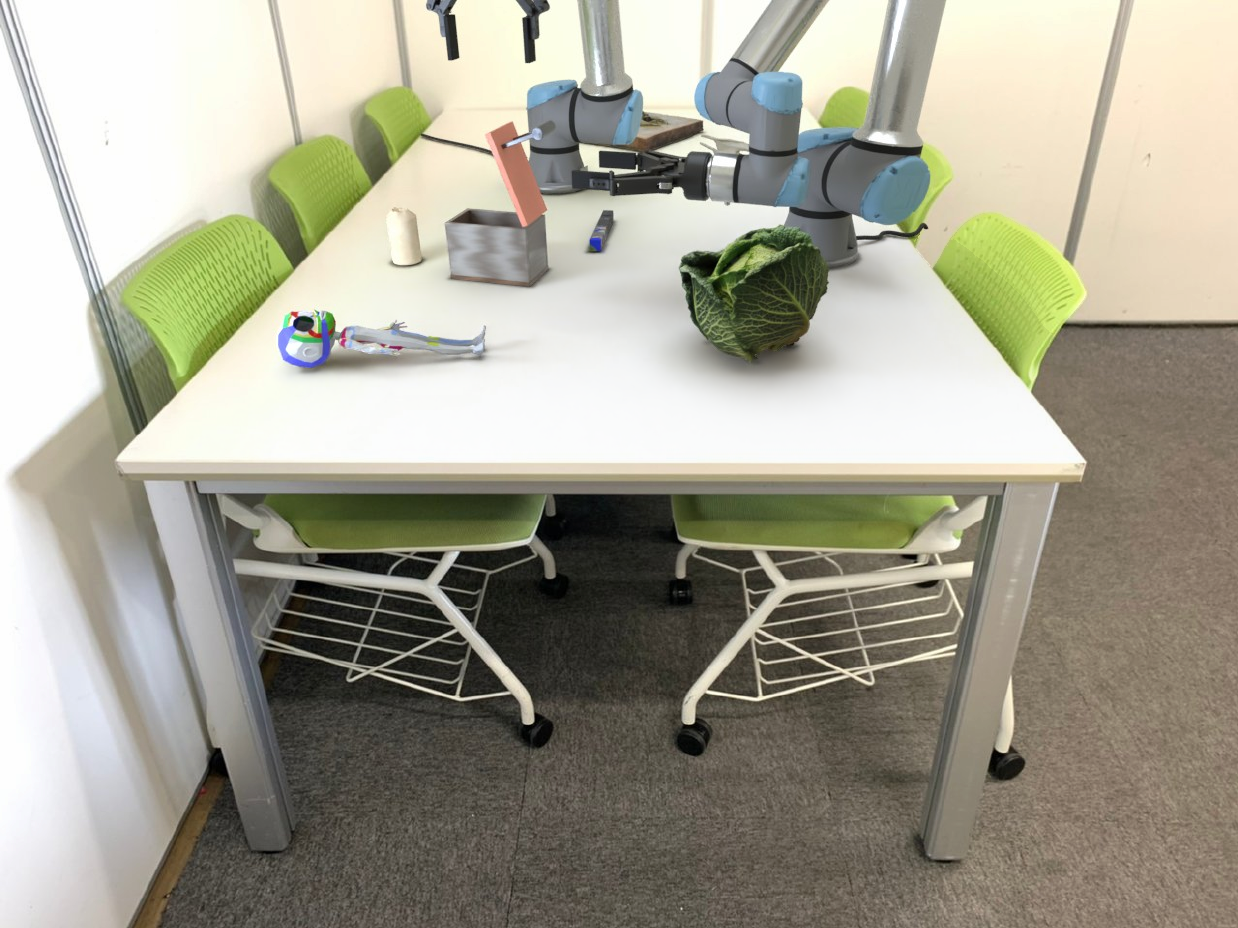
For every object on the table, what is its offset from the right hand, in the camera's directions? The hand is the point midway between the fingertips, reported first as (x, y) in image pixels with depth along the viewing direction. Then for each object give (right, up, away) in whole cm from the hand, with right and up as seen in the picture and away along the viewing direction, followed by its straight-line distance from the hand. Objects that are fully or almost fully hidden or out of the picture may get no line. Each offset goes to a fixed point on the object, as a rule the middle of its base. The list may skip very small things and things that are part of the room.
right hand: (586, 168), depth 150 cm
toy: (-30, -34, -15) cm, 47 cm away
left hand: (-15, +16, -4) cm, 23 cm away
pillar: (+2, -3, +33) cm, 33 cm away
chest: (-16, -14, +15) cm, 27 cm away
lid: (-12, 0, +4) cm, 13 cm away
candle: (-35, -11, +22) cm, 43 cm away
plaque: (+10, +46, +109) cm, 119 cm away
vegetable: (+26, -32, -13) cm, 43 cm away
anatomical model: (+38, +22, +71) cm, 83 cm away
